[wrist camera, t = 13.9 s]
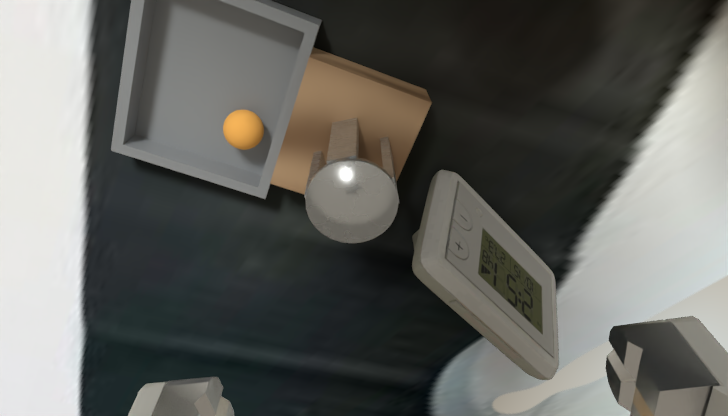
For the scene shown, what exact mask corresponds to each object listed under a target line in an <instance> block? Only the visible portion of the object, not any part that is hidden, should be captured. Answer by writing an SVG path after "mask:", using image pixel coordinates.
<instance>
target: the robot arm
mask: <svg viewBox="0 0 728 416" xmlns="http://www.w3.org/2000/svg"><path fill="white" fill-rule="evenodd" d="M609 342H610V343H611V345H612V347H613V348H614V349H613V351H611V352H610V353H609V354H608V355H607V361H606V372H607V377H608V382H609V385H610V388H611V390H612V393H613V395H614V397H615V398H616V400H617V402H618V404H620V405H621V406H623V407H624V408H626V409H627V410H629V411H630V412H631V414H630V416H728V353H727V352H726V350H725V349H724V348H723V347H722V346H721V345H720V343H718V341H717V340H716V339H715V338H714V337H713V335H712V334H711V333H710V332H709V331H708V330H707V328H706V327H705V326H704V325H703V324H702V323H701V321H700V320H699V319H697V318H695V317H693V316H689V317H681V318H674V319H666V320H657V321H650V322H642V323H635V324H627V325H620V326H613V328H612V329H611V331H610V336H609ZM222 390H223V386H222V384H221V382H220V380H219V379H218V377H206V378H196V379H186V380H175V381H168V382H159V383H149V384H146V385H145V386H143V387H142V388H141V389H140V391H139V393H138V395H137V397H136V399H135V401H134V404H133V406H132V408H131V410H130V412H129V414H128V416H234V412H233V408H232V406H231V404H230V401H228V400H226V399H225V398H223V397H221V394H222Z"/></svg>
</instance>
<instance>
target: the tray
mask: <svg viewBox="0 0 728 416" xmlns="http://www.w3.org/2000/svg"><path fill="white" fill-rule="evenodd" d="M321 22H322V20H321V19H318V18H315V17H313V16H310V15H308V14H305V13H303V12H300V11H297V10H295V9H292V8H290V7H287V6H284V5H282V4H279V3H277V2H274V1H272V0H131V7H130V14H129V21H128V29H127V36H126V43H125V51H124V58H123V65H122V73H121V80H120V87H119V95H118V102H117V109H116V117H115V124H114V131H113V139H112V146H111V151H114V152H117V153H120V154H124V155H127V156H130V157H133V158H136V159H139V160H143V161H146V162H149V163H152V164H155V165H159V166H162V167H165V168H168V169H171V170H174V171H178V172H181V173H184V174H187V175H190V176H193V177H197V178H200V179H203V180H206V181H209V182H212V183H216V184H219V185H222V186H225V187H228V188H231V189H235V190H238V191H241V192H244V193H247V194H250V195H254V196H257V197H260V198H263V199H266V196H267V193H268V190H269V188H270V185H271V184H270V181H271V178H272V175H273V172H274V169H275V165H276V162H277V159H278V156H279V153H280V149H281V146H282V143H283V140H284V137H285V133H286V130H287V127H288V124H289V121H290V117H291V114H292V111H293V108H294V104H295V101H296V98H297V95H298V92H299V88H300V85H301V82H302V79H303V76H304V72H305V69H306V66H307V63H308V60H309V57H310V54H311V52H312V50H313V47H314V44H315V41H316V38H317V35H318V31H319V28H320V25H321ZM242 109H243V110H249V111H252V112H254V113H255V114H256V115H257V116H258V117H259V118H260V119H261V121H262V123H263V126H264V134H263V138H262V140H261V141H260V143H259V144H258V145H256V146H255V147H253V148H251V149H247V150H242V149H237V148H235V147H233V146H232V145H230V144H229V143H228V141H227V140H226V138H225V136H224V133H223V125H224V121H225V119H226V118H227V117H228V115H229V114H231V113H232V112H234V111H236V110H242Z"/></svg>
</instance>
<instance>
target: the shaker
mask: <svg viewBox="0 0 728 416" xmlns="http://www.w3.org/2000/svg"><path fill="white" fill-rule="evenodd" d="M380 142H381V152H382V162H383V168H382V167H381V166H379V165H378V164H376V163H374V162H372V161H369V160H366V159H362V158H358V150H359V124H358V120H357V117H356V118H352V119H347V120H343V121H338V122H333V123H332V128H331V135H330V141H329V148H328V154H327V161H326V162H327V164H326V165H325V161H324V158H323V154H322V151H318V152H314V153H313V158H312V162H311V167H310V171H309V176H308V181H307V185H306V190H305V194H304V197H305V200H306V210H307V214H308V216H309V218H310V220H311V222H312V223H313V225H314V226H315V227H316V228H317V229H318V230H319V231H320V232H321V233H322V234H324V235H325V236H327V237H329V238H331V239H333V240H336V241H339V242H344V243H360V242H365V241H369V240H371V239H374V238H376V237H377V236H379V235H381V234H382V233H383V232H384V231H386V230H387V229H388V227H389V226H390V225H391V224H392V222H393V221H394V218H395V216H396V213H397V210H398V203H399V196H398V190H397V183H396V176H395V170H394V163H393V157H392V152H391V147H390V143H389V138H388V137H384V138H380Z"/></svg>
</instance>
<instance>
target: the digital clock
mask: <svg viewBox="0 0 728 416" xmlns="http://www.w3.org/2000/svg"><path fill="white" fill-rule="evenodd" d="M412 239H413V245H414V256H413V261H412V269H413V272H414V274H415V275H416V276H417V277H418V278H419V279H420V280H421V281H422V282H423V283H424V284H425V285H426V286H427V287H428V288H429V289H430V290H432V291H433V292H434V293H435V294H436V295H437V296H438V297H439V298H440V299H442V300H443V301H444V302H445V303H446V304H447V305H448V306H450V307H451V308H452V309H453V310H454V311H455V312H456V313H458V314H459V315H460V316H461V317H462V318H463V319H464V320H466V321H467V322H468V323H469V324H470V325H471V326H472V327H474V328H475V329H476V330H477V331H478V332H479V333H480V334H482V335H483V336H484V337H485V338H486V339H487V340H488V341H490V342H491V343H492V344H493V345H494V346H495V347H497V348H498V349H499V350H500V351H501V352H502V353H503V354H505V355H506V356H507V357H508V358H509V359H510V360H511V361H513V362H514V363H515V364H516V365H517V366H519V367H520V368H521V369H522V370H523V371H524V372H526V373H527V374H529V375H531V376H533V377H535V378H537V379H541V380H549V379H552V378H553V376H554V374H555V372H556V370H557V368H558V365H559V349H558V327H557V304H556V284H555V277H554V274H553V272H552V271H551V270H550V268H549V267H548V266H547V265H546V264H545V263H544V262H543V261H542V260H541V259H540V258H539V257H538V256H537V255H536V253H535V252H534V251H533V250H532V249H531V248H530V247H529V246H528V245H527V244H526V243H525V242H524V241H523V240H522V239H521V238H520V237H519V236H518V235H517V234H516V233H515V232H514V231H513V230H512V229H511V228H510V227H509V226H508V225H507V224H506V223H505V222H504V220H503V219H502V218H501V217H500V216H499V215H498V214H497V213H496V212H495V211H494V210H493V209H492V208H491V207H490V206H489V205H488V204H487V203H486V202H485V201H484V200H483V199H482V198H481V197H480V196H479V195H478V194H477V193H476V192H475V191H474V190H473V189H472V188H471V187H470V186H469V184H467V183H466V182H465V181H464V180H463V179H462V178H461V177H460V176H459V175H458V174H457V173H455V172H451V171H447V170H440V171H438V172H437V173H436V174H435V175H434V177H433V178H432V181H431V183H430V186H429V190H428V195H427V199H426V203H425V208H424V212H423V216H422V221H421V225H420V229H419V230H418V231H417V232H415V233H414V235H413V236H412Z"/></svg>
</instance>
